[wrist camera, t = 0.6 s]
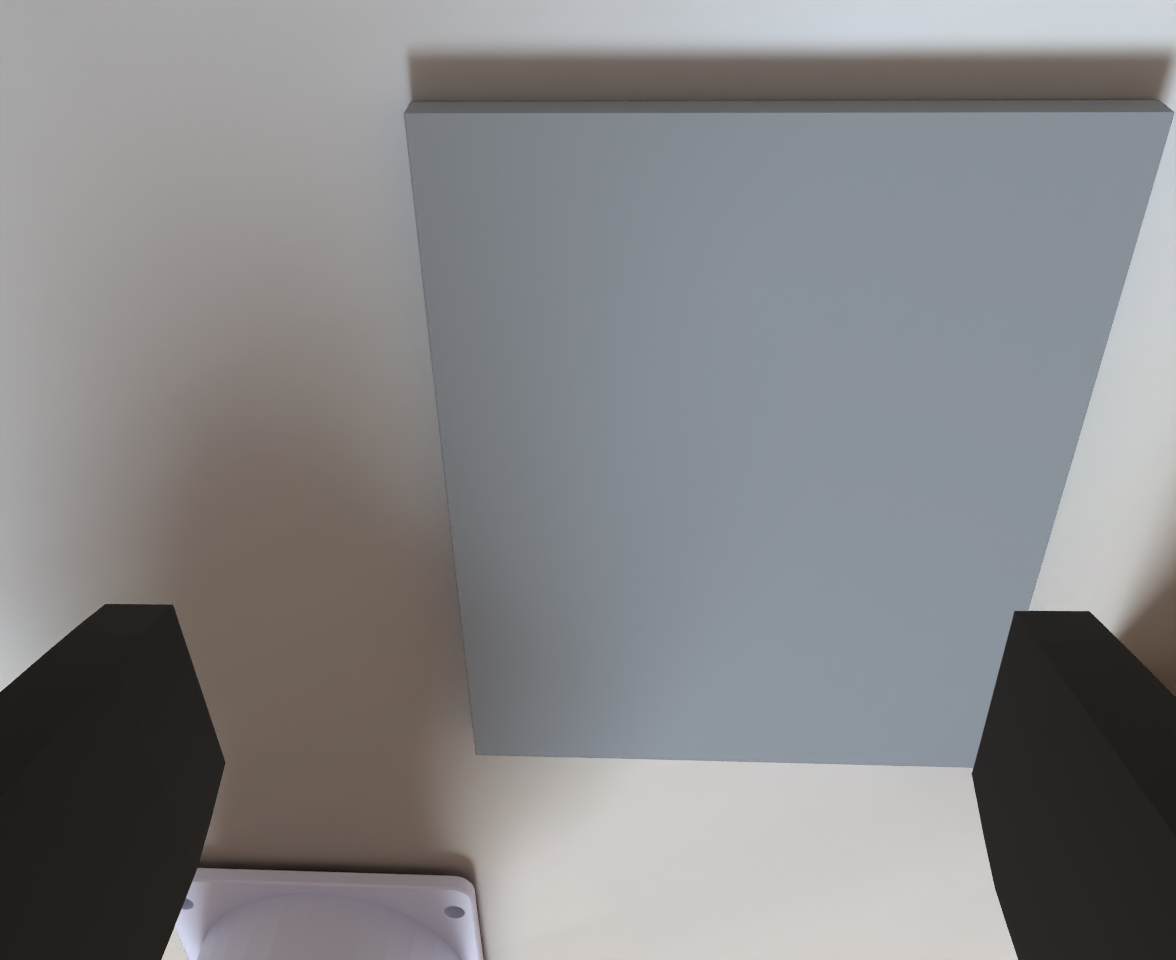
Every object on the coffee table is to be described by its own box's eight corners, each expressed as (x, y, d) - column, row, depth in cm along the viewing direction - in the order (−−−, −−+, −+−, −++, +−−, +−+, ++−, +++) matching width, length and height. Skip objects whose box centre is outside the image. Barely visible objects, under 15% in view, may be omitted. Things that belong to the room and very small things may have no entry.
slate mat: (975, 746, 24) (981, 767, 23) (479, 733, 24) (475, 754, 24) (1158, 99, 16) (1174, 112, 15) (411, 101, 16) (403, 113, 16)
